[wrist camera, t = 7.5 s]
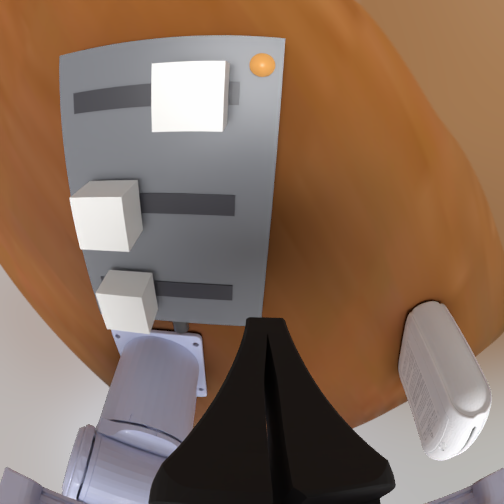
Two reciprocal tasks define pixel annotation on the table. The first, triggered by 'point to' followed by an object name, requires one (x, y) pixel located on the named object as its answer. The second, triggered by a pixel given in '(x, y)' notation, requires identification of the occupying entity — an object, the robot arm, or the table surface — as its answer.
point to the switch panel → (181, 171)
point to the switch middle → (107, 215)
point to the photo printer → (442, 382)
